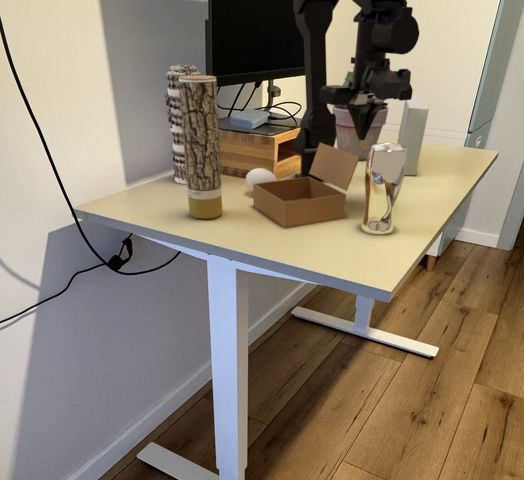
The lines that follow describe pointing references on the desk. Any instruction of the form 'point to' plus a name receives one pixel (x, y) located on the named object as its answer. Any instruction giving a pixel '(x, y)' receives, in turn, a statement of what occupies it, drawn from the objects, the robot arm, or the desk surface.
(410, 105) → the skincare box
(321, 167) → the flap
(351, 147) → the potted plant
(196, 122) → the paper tube
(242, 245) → the desk surface
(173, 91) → the decorative candle
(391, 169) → the beer glass
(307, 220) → the carton
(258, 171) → the stress ball
